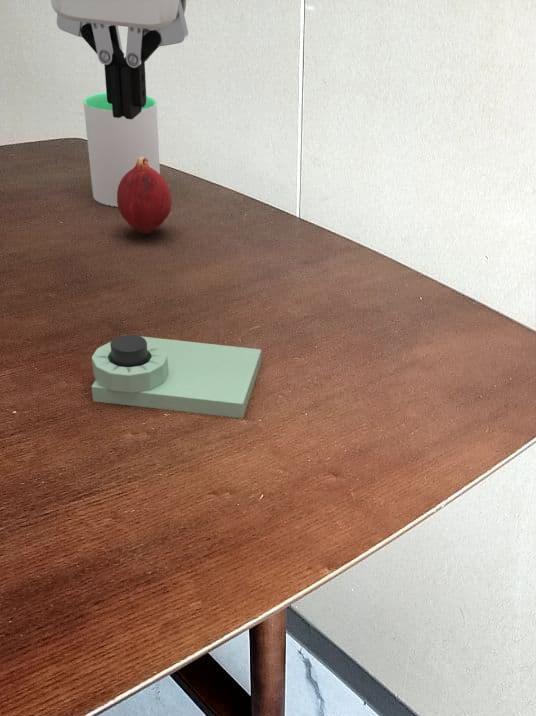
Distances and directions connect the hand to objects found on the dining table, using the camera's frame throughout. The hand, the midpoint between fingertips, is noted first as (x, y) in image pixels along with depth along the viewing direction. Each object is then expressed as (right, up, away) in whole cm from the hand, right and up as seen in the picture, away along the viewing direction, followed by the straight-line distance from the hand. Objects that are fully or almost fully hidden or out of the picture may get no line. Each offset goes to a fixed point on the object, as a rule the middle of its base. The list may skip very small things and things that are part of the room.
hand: (127, 114), depth 75 cm
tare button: (+2, -23, -7) cm, 24 cm away
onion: (-2, -3, +21) cm, 21 cm away
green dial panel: (+5, -24, -3) cm, 25 cm away
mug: (-7, +6, +31) cm, 32 cm away
